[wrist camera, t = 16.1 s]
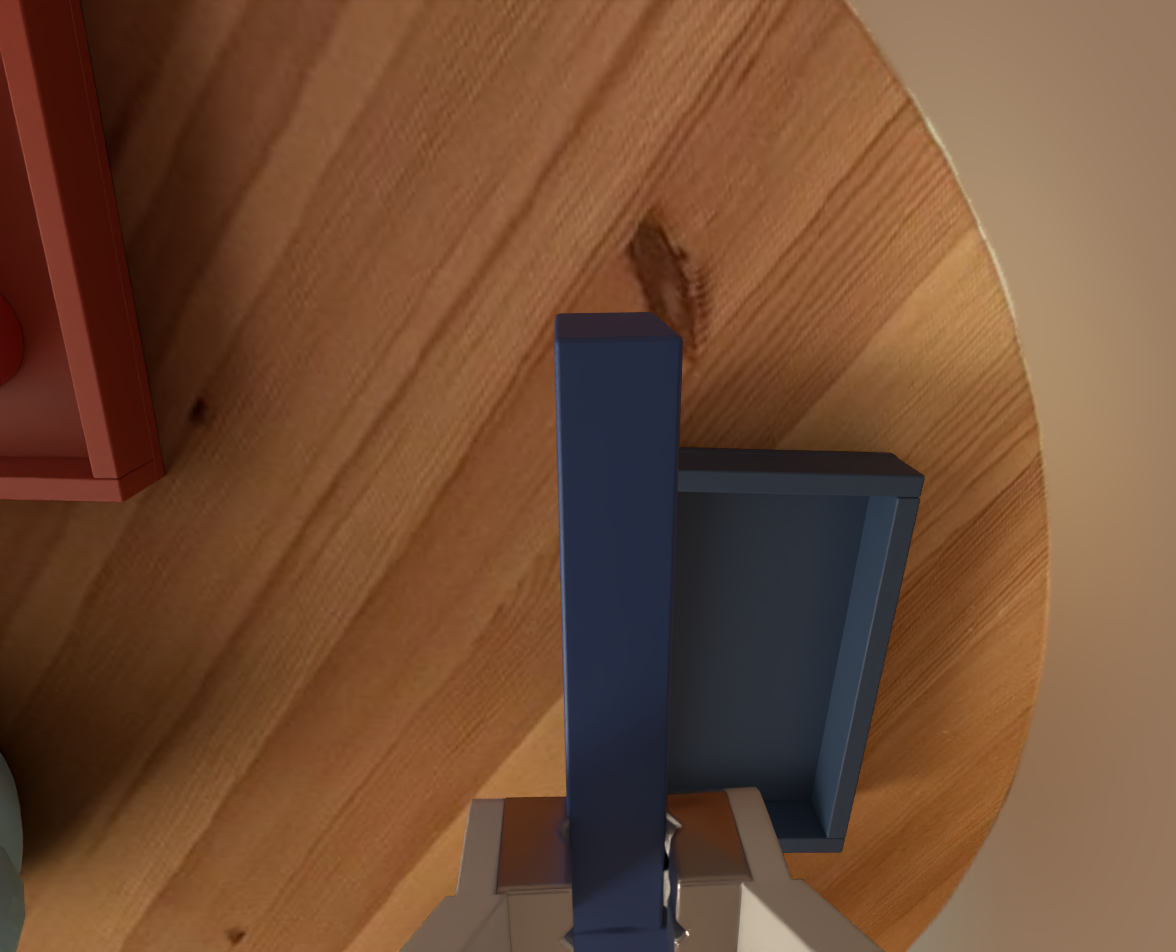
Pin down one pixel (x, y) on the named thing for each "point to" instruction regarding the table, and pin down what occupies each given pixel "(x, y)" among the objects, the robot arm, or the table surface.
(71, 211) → the red tray
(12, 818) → the teapot
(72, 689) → the table surface
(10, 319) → the red spoon
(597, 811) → the blue spoon
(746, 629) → the blue tray
